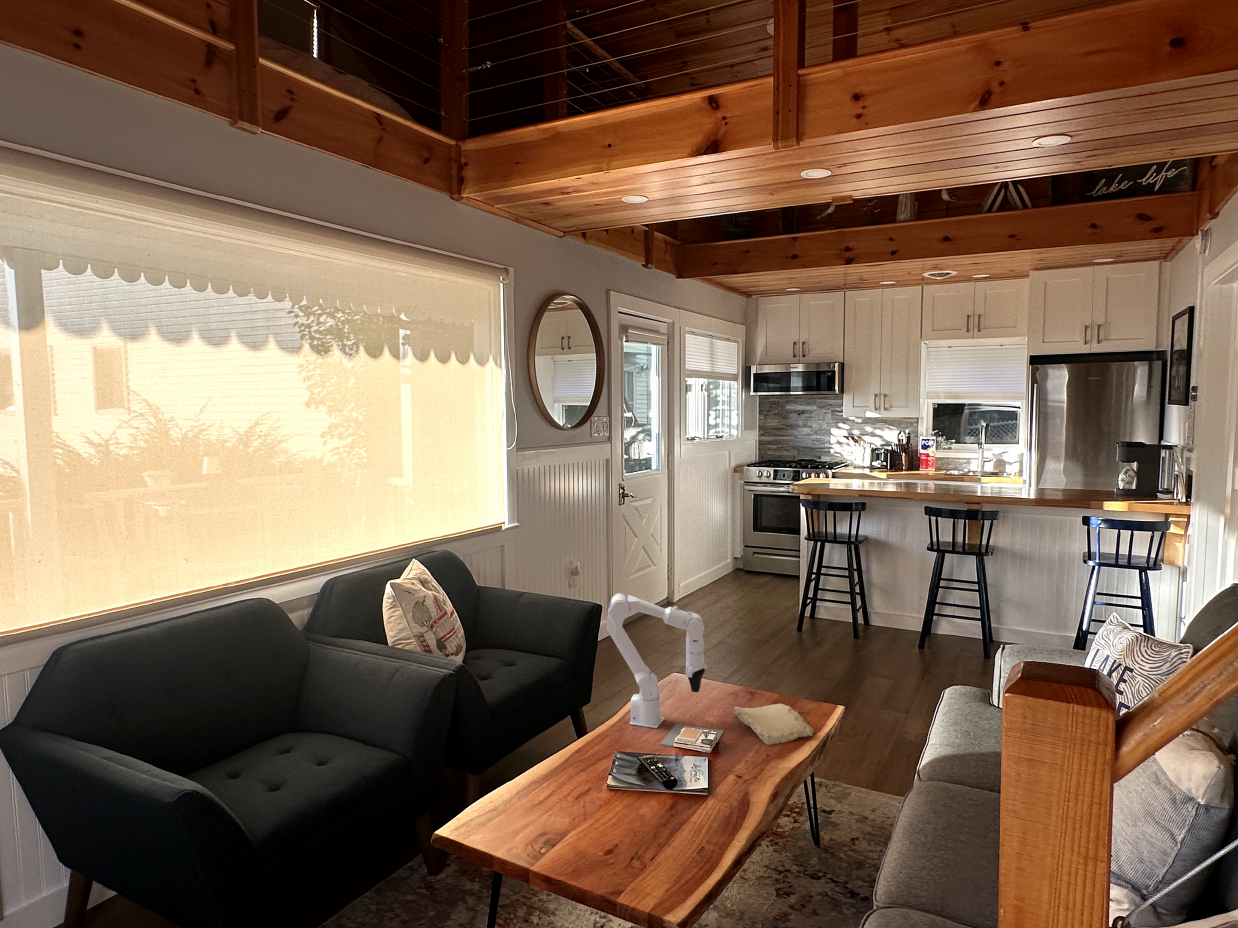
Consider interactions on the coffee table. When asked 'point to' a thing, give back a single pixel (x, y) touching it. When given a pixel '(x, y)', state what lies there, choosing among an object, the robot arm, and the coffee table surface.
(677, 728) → the mat
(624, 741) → the coffee table surface
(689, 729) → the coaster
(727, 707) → the coffee table surface
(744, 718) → the small cream pillow
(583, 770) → the coffee table surface
